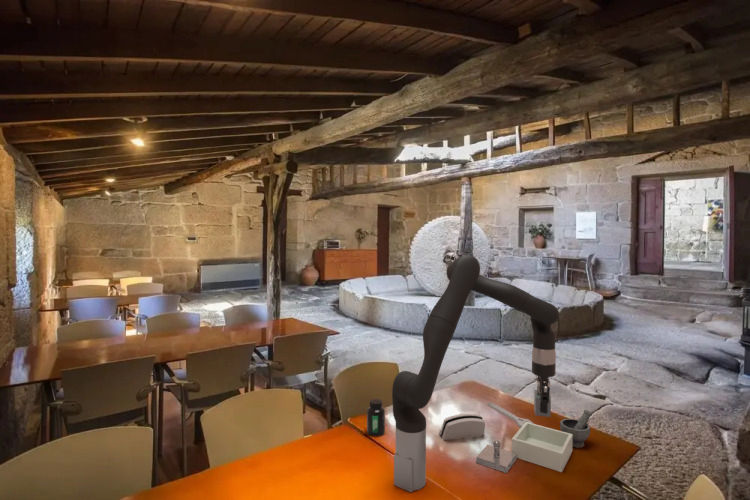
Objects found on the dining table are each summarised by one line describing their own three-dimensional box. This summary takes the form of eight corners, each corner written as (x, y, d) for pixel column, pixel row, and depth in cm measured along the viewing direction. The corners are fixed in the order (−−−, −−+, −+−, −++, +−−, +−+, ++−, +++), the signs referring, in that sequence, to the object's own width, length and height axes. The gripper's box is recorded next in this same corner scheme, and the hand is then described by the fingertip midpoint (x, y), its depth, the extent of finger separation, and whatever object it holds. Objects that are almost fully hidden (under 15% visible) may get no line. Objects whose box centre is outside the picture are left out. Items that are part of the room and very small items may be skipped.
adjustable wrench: (486, 406, 182) (486, 402, 182) (498, 404, 184) (498, 400, 184) (523, 431, 158) (523, 426, 158) (537, 428, 160) (537, 424, 160)
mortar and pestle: (569, 450, 143) (569, 416, 143) (554, 437, 153) (555, 405, 152) (599, 448, 145) (600, 415, 144) (582, 436, 154) (583, 404, 154)
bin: (562, 472, 130) (562, 453, 130) (511, 456, 140) (511, 438, 139) (572, 451, 143) (572, 434, 143) (525, 437, 153) (525, 421, 152)
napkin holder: (478, 429, 159) (483, 409, 155) (484, 439, 155) (488, 418, 151) (437, 433, 155) (441, 413, 152) (442, 443, 151) (445, 422, 148)
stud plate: (506, 473, 130) (506, 452, 129) (476, 462, 136) (476, 442, 135) (516, 459, 138) (516, 439, 137) (487, 450, 144) (487, 430, 143)
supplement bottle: (377, 438, 152) (377, 406, 151) (363, 433, 156) (363, 402, 155) (388, 431, 157) (388, 400, 157) (374, 426, 161) (374, 396, 161)
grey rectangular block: (535, 415, 139) (535, 395, 139) (534, 409, 144) (534, 389, 144) (550, 417, 138) (550, 396, 138) (548, 411, 143) (548, 391, 142)
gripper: (530, 353, 148) (529, 400, 149) (533, 365, 134) (533, 416, 135) (552, 355, 146) (551, 402, 147) (558, 367, 132) (557, 419, 133)
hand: (542, 409), depth 141 cm, fingers closed on grey rectangular block, 4 cm apart
